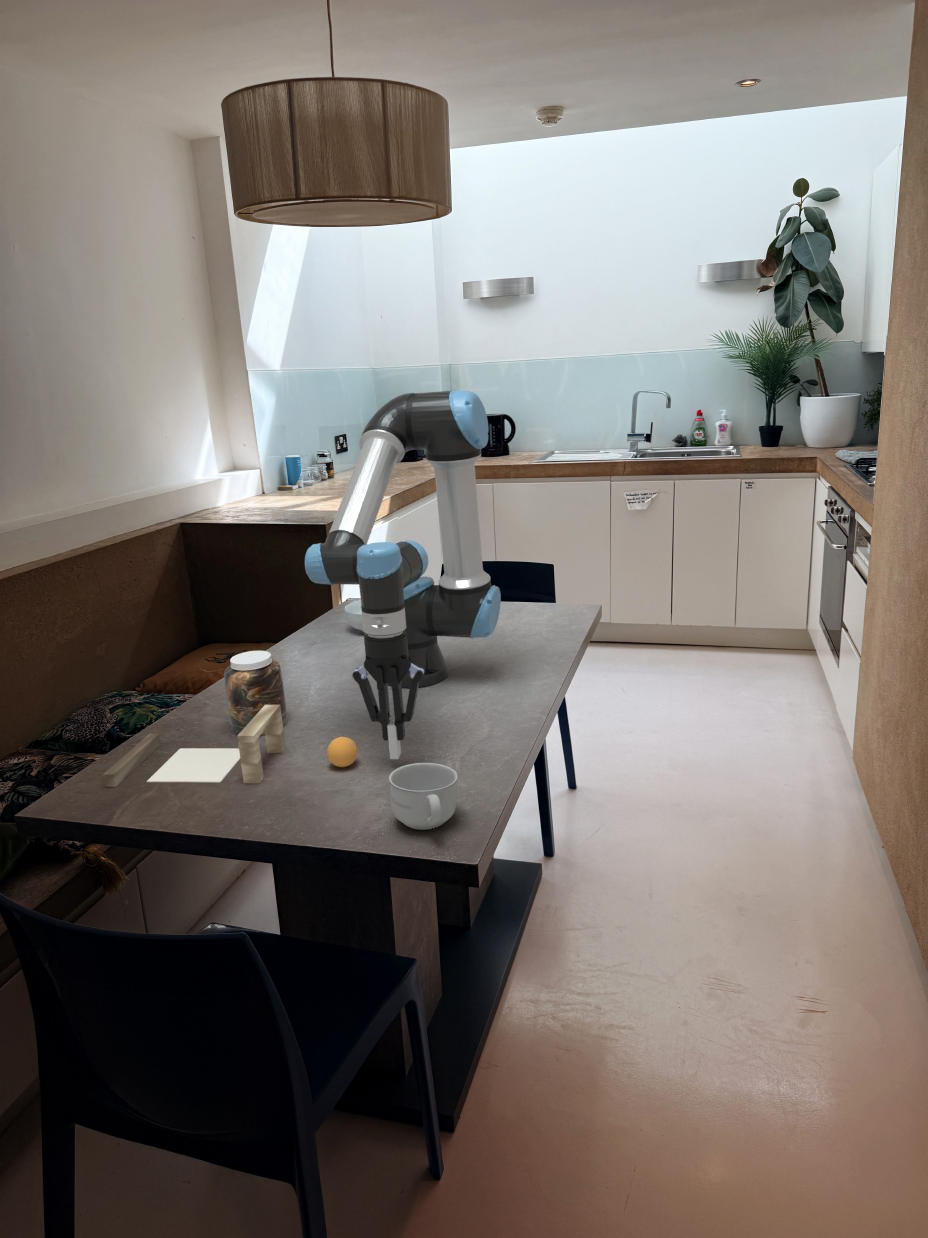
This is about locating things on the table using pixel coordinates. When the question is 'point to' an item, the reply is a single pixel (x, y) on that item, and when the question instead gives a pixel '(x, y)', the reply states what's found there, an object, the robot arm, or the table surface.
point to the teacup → (423, 794)
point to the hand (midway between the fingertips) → (395, 755)
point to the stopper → (131, 760)
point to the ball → (342, 752)
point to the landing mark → (198, 765)
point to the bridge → (249, 742)
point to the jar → (253, 687)
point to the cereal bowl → (354, 615)
